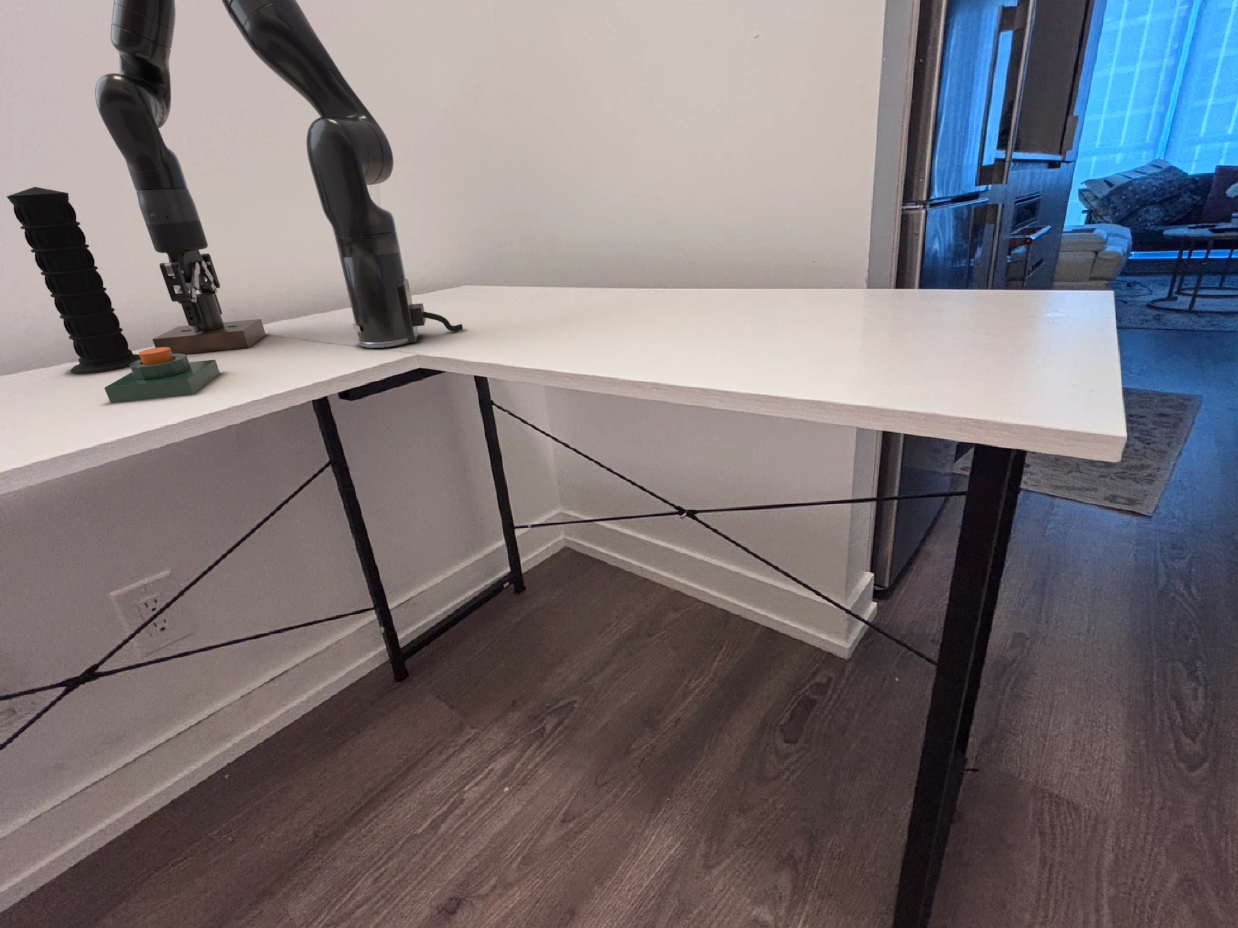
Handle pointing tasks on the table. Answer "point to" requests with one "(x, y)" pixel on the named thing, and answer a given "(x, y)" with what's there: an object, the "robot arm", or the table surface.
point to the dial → (208, 312)
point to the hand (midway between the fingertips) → (206, 320)
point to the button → (156, 355)
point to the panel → (212, 337)
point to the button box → (162, 379)
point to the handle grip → (72, 280)
